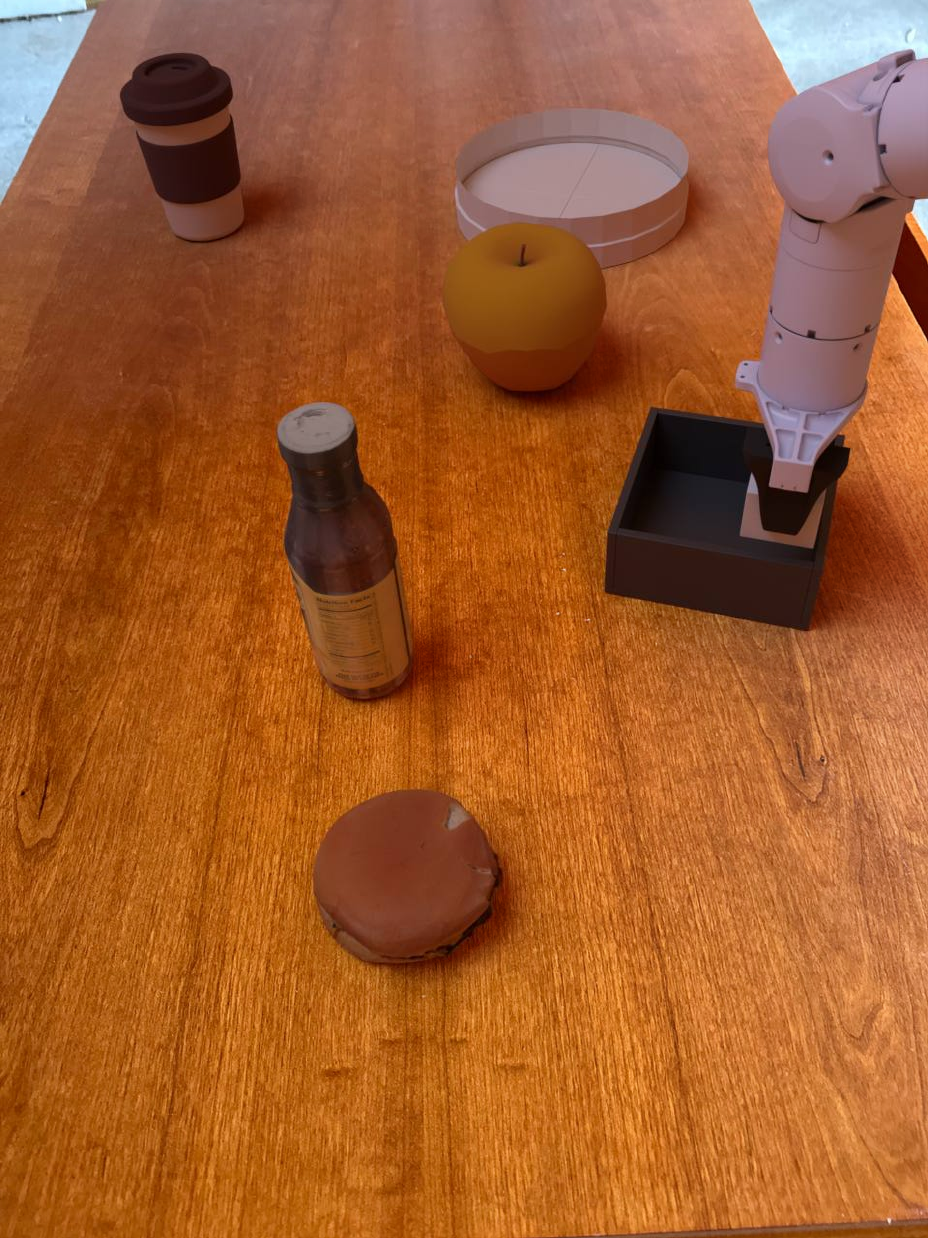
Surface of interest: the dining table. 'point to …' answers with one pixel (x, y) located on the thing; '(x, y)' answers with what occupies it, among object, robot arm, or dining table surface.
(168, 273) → the dining table surface
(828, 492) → the bin
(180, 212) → the coffee cup
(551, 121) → the dish
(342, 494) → the sauce bottle
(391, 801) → the chocolate glazed sandwich cookie
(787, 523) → the robot arm
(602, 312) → the apple
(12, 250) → the dining table surface
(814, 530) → the cube
